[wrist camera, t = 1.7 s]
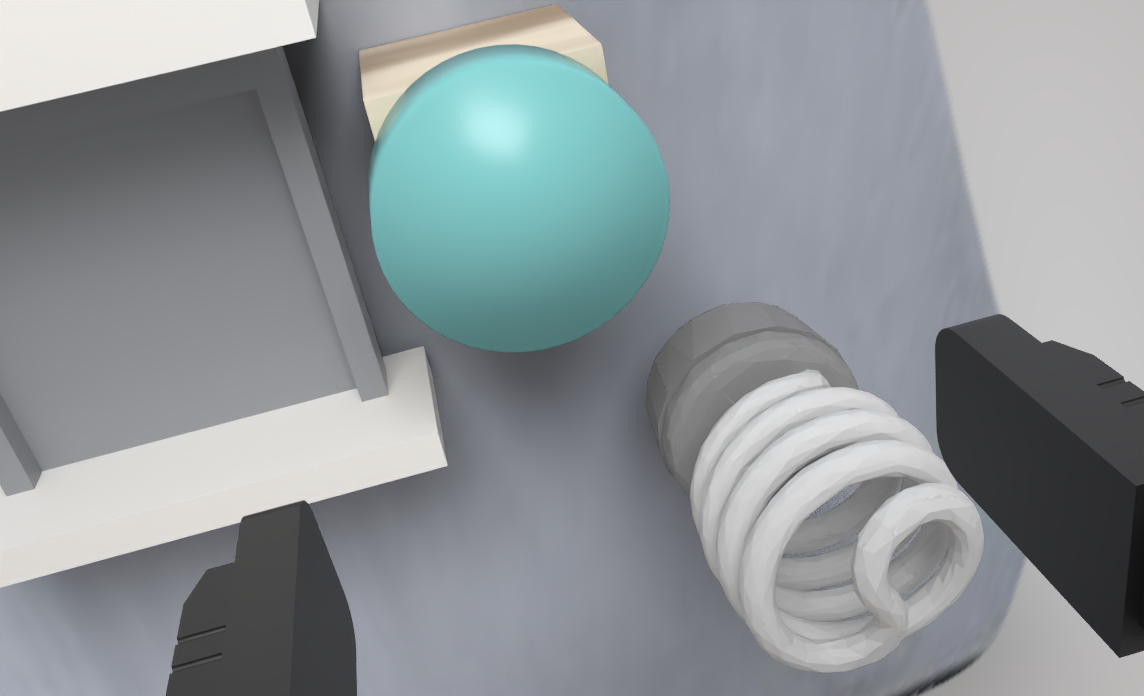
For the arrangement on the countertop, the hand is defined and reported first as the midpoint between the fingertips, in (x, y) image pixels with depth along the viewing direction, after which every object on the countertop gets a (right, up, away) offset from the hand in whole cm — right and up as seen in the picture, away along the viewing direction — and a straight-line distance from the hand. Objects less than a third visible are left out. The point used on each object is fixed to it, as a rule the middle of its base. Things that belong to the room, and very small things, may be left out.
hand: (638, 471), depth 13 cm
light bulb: (+3, +2, +18) cm, 19 cm away
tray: (-12, +5, +13) cm, 18 cm away
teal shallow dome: (-2, +5, +10) cm, 11 cm away
